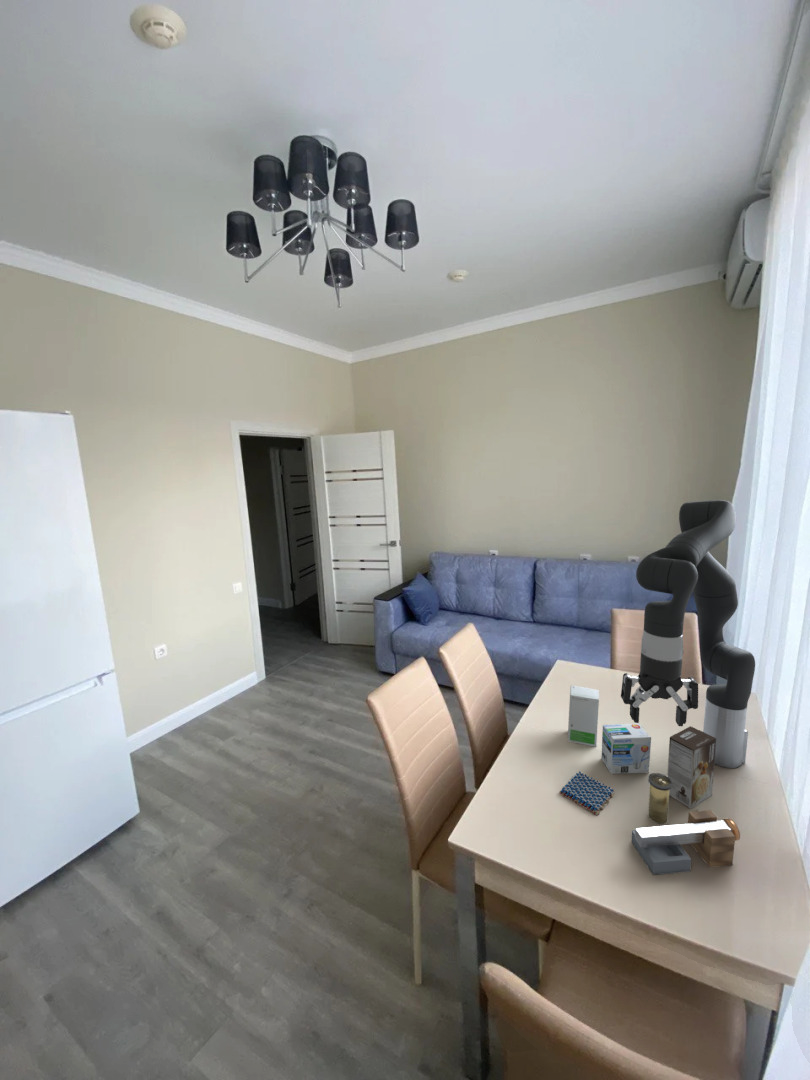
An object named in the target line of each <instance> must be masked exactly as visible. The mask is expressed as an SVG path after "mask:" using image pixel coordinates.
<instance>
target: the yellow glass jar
mask: <svg viewBox="0 0 810 1080" xmlns="http://www.w3.org/2000/svg"><path fill="white" fill-rule="evenodd" d="M647 777H648V778H647V780H648V783H649V794H648V796H649V798H648V817H649V818H650V820H651V821H652V822H654V823H655V824H659V825H660V824H661V825H665V824H666V823H668V820H669V817H668V816H669V805H670V795H669V791H670V789H671V788H672V781H671V780H670V779H669V778H668V775H667V776H666V775H665V774H662V773H659V772H652V773H650V774H649V775H648V776H647Z"/></svg>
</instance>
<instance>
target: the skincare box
mask: <svg viewBox="0 0 810 1080" xmlns="http://www.w3.org/2000/svg"><path fill="white" fill-rule="evenodd" d="M569 687H570V688H569V702H568V704H569V707H568V709H569V710H568V725H567V726H568V727H567V728H568V729H567V741H568V742H570V743H575V744H580V745H586V746H589V747H590V746H591V747H595V748H596V747H597V741H598V726H599V725H598V723H599V722H598V721H599V706H600V691H599V689H595V688H589V687H586V686H577V685H573V684H572V685H570V686H569Z"/></svg>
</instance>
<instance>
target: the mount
mask: <svg viewBox="0 0 810 1080" xmlns="http://www.w3.org/2000/svg"><path fill="white" fill-rule="evenodd" d="M687 813H688V814H687V815H688V816H687V817H688V818H687V824H690V823H701V822H712V821H718V816H717V815H716V814H715V813H714V812H713V811H712V810H711V809H705V810H694V811H692V810H691V811H688V812H687ZM689 844H690V845H691V846H692V848H693V849H694V850H695V851H696V852H697V854H698V855H699V856H700V858H701V859H702V860H703V861H704V862H705V863H706V865H707V866H708V868H714V867H716V868H717V867H724V866H733V863H734V854H735V853H734V852H735V844H736V841H735V835H734V834H733V833H732V832H731V831H730V830H729V829H728V828H726V829H715V830H705V836H704V842H700V843H689Z"/></svg>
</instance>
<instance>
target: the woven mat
mask: <svg viewBox="0 0 810 1080" xmlns="http://www.w3.org/2000/svg"><path fill="white" fill-rule="evenodd" d="M559 793H560V795H562V796H563V797H565V798H567V799H569V800H570V801H572V802H574V803H576V804H578V805H579V806H581V807H582V808H584V809H586V810H588V811H589V812H591V813H593V814H594V815H599V814H600V812H601V810H604V807H605V805H606V806H607V805H608V804H609V803H610V802H611V801H610V800H611V798H613V797H615V796H614V795H615V790H614V789H613V788H611V787H610V786H607V785H605V783H602V782H599V780H596V779H593V777H590V776H588V775H587V774H586V773H585V774H584V773H581V771H580V770H579V771H578V772H576V773H575V774H574V776H573V775H572V777H571V779H570V780H568V782H567V783H566V784H565V785H564V786H562V788H561V790H559Z"/></svg>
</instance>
